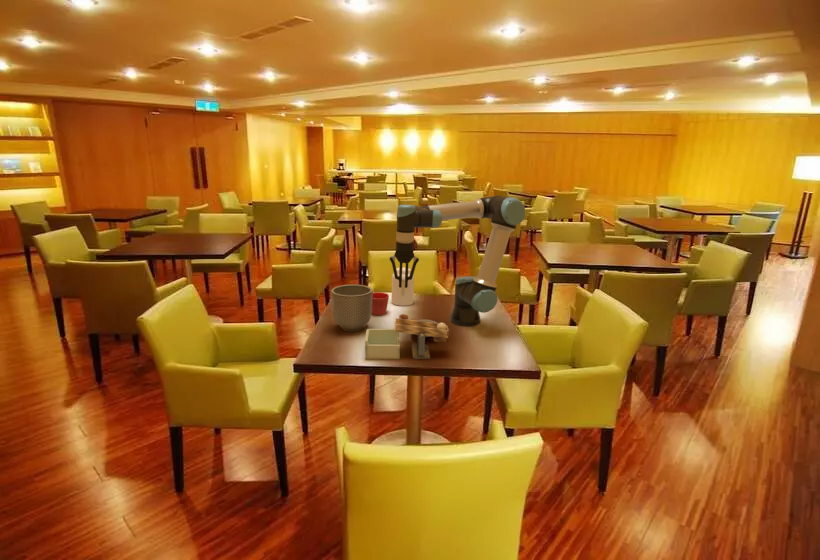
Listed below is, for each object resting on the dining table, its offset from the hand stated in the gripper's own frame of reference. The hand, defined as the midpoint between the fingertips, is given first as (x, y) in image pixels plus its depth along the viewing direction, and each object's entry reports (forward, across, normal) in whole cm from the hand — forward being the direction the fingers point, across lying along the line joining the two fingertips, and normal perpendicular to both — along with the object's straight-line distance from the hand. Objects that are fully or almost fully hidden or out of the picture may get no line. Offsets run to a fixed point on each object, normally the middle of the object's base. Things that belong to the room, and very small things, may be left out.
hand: (402, 294), depth 198 cm
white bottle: (+21, 0, -54) cm, 58 cm away
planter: (+22, +24, -14) cm, 35 cm away
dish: (+21, -11, -5) cm, 24 cm away
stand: (+21, -8, +13) cm, 26 cm away
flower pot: (+22, +12, -36) cm, 44 cm away
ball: (+10, -17, +13) cm, 23 cm away
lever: (+14, -8, +8) cm, 18 cm away
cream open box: (+22, +8, +14) cm, 27 cm away
